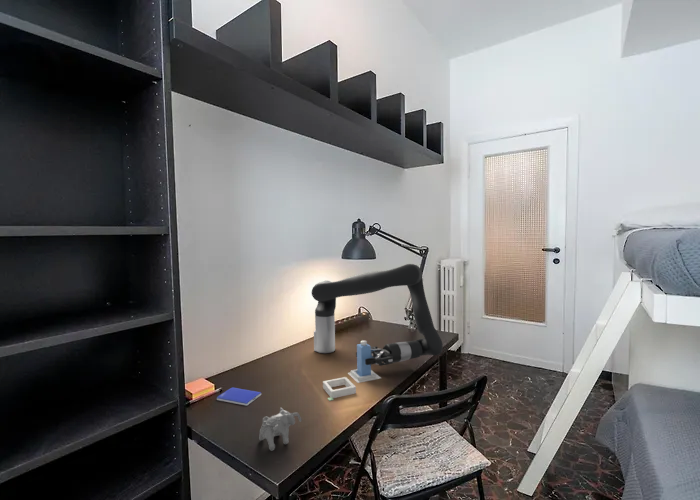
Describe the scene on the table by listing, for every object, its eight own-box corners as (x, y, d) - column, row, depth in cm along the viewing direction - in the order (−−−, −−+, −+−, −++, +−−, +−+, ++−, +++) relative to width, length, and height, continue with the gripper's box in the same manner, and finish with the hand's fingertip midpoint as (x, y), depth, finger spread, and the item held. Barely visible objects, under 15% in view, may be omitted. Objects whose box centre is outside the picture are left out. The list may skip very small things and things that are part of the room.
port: (348, 382, 132) (348, 374, 132) (361, 396, 121) (361, 387, 121) (317, 388, 128) (317, 380, 127) (328, 403, 117) (328, 394, 116)
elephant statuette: (252, 445, 95) (251, 417, 94) (283, 423, 105) (282, 398, 104) (277, 456, 90) (276, 427, 89) (307, 433, 100) (306, 406, 99)
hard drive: (216, 396, 120) (246, 402, 116) (232, 386, 128) (261, 391, 124) (216, 401, 120) (247, 407, 116) (232, 390, 128) (261, 396, 124)
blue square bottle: (366, 372, 139) (366, 339, 139) (371, 376, 136) (370, 342, 135) (357, 374, 138) (356, 340, 137) (361, 378, 134) (361, 343, 133)
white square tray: (370, 370, 143) (369, 365, 143) (381, 380, 134) (381, 375, 134) (347, 374, 139) (347, 370, 139) (357, 385, 130) (357, 379, 130)
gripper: (388, 338, 149) (353, 343, 142) (406, 348, 135) (368, 354, 129) (388, 355, 149) (353, 361, 143) (406, 367, 136) (369, 374, 130)
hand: (360, 358), depth 136 cm, fingers open, 8 cm apart
